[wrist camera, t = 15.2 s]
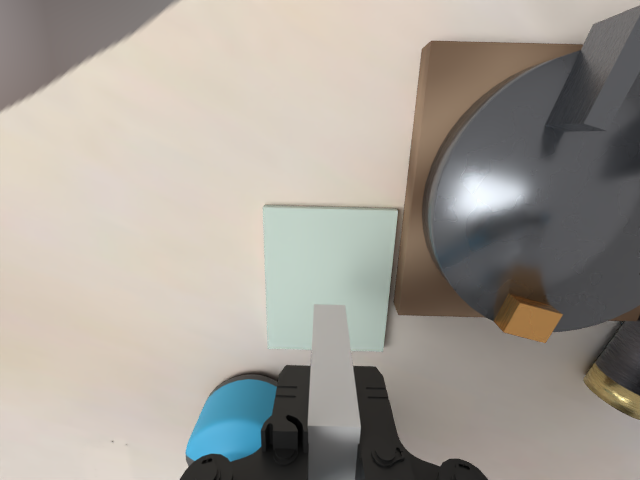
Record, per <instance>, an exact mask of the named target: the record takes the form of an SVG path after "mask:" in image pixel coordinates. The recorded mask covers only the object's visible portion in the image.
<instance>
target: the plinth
mask: <svg viewBox="0 0 640 480" xmlns="http://www.w3.org/2000/svg"><path fill="white" fill-rule="evenodd" d="M582 47H583V45H581V44H540V43H499V42H458V41H431V42H429V43H428V44H427V45H426V46H425V47H424V48H423V49H422V53H421V62H420V71H419V80H418V88H417V97H416V106H415V115H414V124H413V133H412V142H411V151H410V160H409V169H408V178H407V187H406V196H405V204H404V213H403V222H402V231H401V240H400V249H399V258H398V267H397V276H396V285H395V294H394V305H395V308H396V310H397V313H398V315H416V316H455V317H484V316H483V315H481V314H480V313H478V312H477V311H475V310H474V309H472V308H471V307H470V306H469V305H468V304H467V303H466V302H465V301H464V300H463V299H462V298H461V297H460V296H459V295H458V294H457V293H456V291H455V290H454V289H453V288H452V287H451V286H450V284H449V283H448V282H447V281H446V280H445V278H444V277H443V276H442V275H441V273H440V272H439V271H438V269H437V267H436V265H435V264H434V262H433V260H432V258H431V256H430V253H429V251H428V248H427V246H426V241H425V237H424V233H423V224H422V202H423V195H424V189H425V184H426V180H427V177H428V174H429V171H430V168H431V165H432V163H433V160H434V158H435V156H436V154H437V152H438V150H439V148H440V146H441V144H442V143H443V141H444V139H445V138H446V136H447V134H448V133H449V131H450V130H451V129H452V127H453V126H454V125H455V124H456V122H457V121H458V120H459V118H460V117H461V116H462V115H463V114H464V113H465V112H466V111H467V110H468V109H469V108H470V107H471V106H472V105H473V104H474V103H475V102H476V101H477V100H478V99H479V98H480V97H482V96H483V95H484V94H485V93H487V92H488V91H489V90H490V89H491V88H493V87H494V86H496V85H497V84H499V83H501V82H502V81H504V80H505V79H507V78H508V77H510V76H512V75H514V74H516V73H518V72H520V71H522V70H524V69H527V68H529V67H532V66H534V65H537V64H540V63H543V62H546V61H549V60H552V59H555V58H558V57H561V56H564V55H567V54H570V53H573V52H576V51H579V50H581V49H582ZM639 315H640V305H639V306H638V307H636V308H634V309H632V310H631V311H629V312H626V313H624V314H622V315H620V316H618V317H616V318H614V319H611V320H608V321H637V320H638V318H639Z"/></svg>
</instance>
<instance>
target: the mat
mask: <svg viewBox="0 0 640 480" xmlns="http://www.w3.org/2000/svg"><path fill="white" fill-rule="evenodd" d="M397 216H398V210H397V209H396V208H359V207H319V206H280V205H264V206H263V228H264V256H265V284H266V312H267V340H268V349H300V350H312V332H313V313H314V304H323V305H345V308H346V316H347V324H348V331H349V339H350V347H351V351H376V352H383V348H384V339H385V329H386V320H387V310H388V301H389V291H390V282H391V273H392V263H393V254H394V244H395V235H396V225H397Z"/></svg>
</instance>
